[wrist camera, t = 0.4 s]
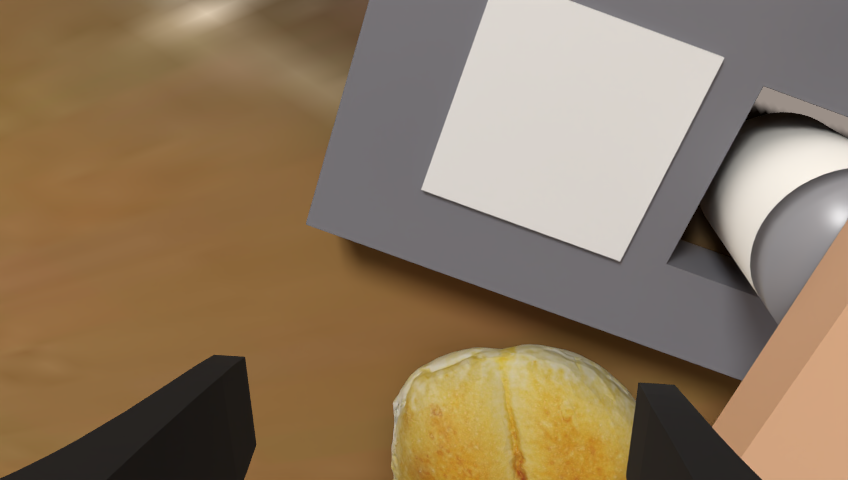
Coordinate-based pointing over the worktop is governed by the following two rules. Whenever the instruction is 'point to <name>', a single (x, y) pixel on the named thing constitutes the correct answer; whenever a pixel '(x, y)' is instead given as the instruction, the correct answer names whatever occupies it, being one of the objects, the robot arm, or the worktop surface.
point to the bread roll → (512, 418)
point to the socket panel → (572, 151)
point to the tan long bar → (799, 385)
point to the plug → (780, 202)
